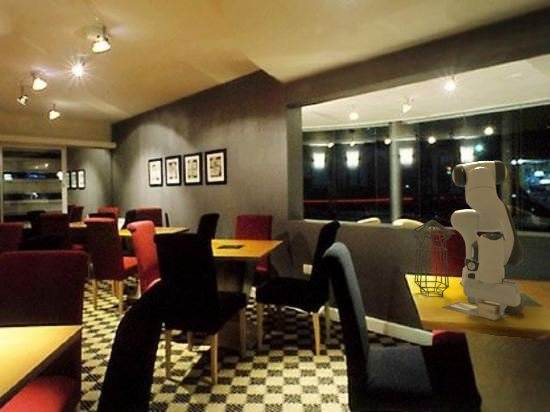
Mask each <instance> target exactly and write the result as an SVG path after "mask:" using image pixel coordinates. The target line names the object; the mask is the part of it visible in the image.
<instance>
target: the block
mask: <svg viewBox="0 0 550 412" xmlns="http://www.w3.org/2000/svg"><path fill="white" fill-rule="evenodd" d="M499 309H501V306H500V303H495V302H491V301H487V300H485V302H481V303H479V310H478V316H480V317H484V318H487V319H491V320H496V319H499V318H502V316H501V315H497V313H498V312H497V310H499ZM480 317H479V318H480ZM484 318H483V319H484ZM487 319H486V320H487ZM491 320H490V321H491Z"/></svg>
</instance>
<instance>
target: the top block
mask: <svg viewBox="0 0 550 412" xmlns="http://www.w3.org/2000/svg"><path fill="white" fill-rule="evenodd" d="M485 301H486V300H482V299H481V301H480V302H485ZM467 303H471V304H476V305H477V303H476V301H475V298H473V297H469V296H467Z"/></svg>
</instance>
